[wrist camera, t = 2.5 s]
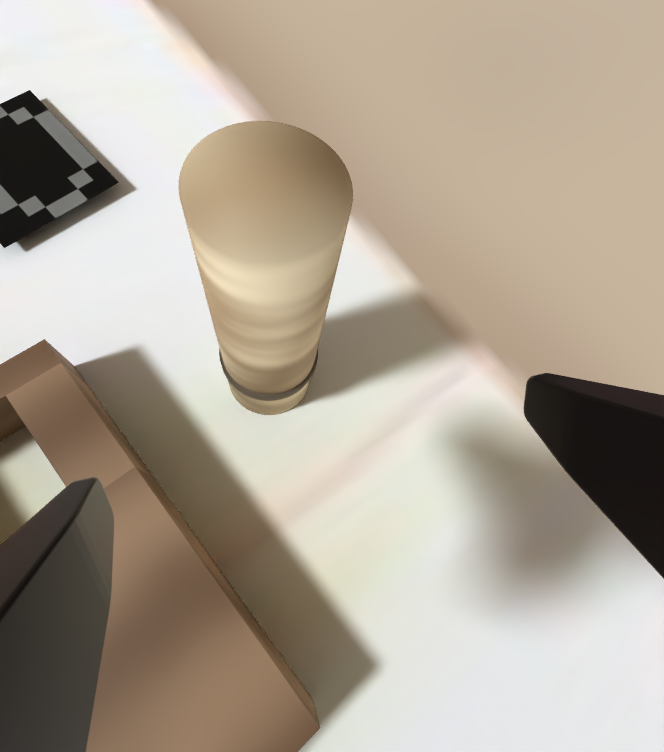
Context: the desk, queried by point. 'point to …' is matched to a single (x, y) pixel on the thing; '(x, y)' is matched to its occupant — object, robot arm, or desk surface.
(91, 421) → the walnut board
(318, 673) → the desk surface
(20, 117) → the red board with handle
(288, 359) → the birch dowel
